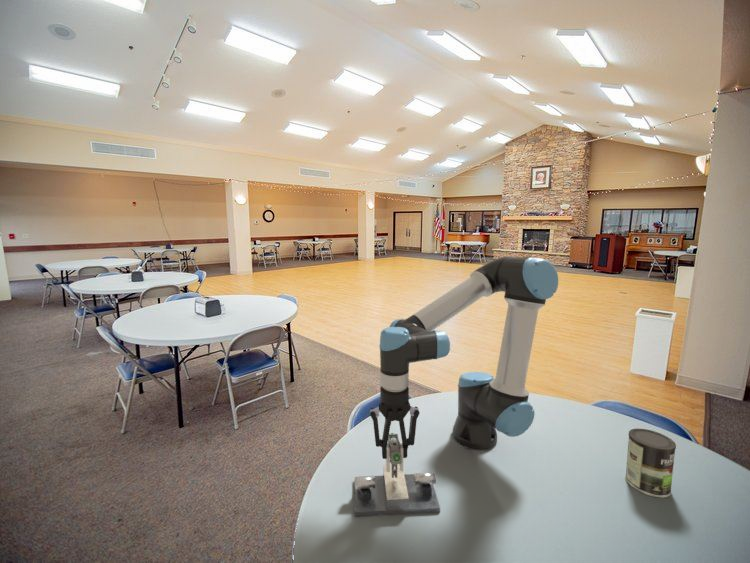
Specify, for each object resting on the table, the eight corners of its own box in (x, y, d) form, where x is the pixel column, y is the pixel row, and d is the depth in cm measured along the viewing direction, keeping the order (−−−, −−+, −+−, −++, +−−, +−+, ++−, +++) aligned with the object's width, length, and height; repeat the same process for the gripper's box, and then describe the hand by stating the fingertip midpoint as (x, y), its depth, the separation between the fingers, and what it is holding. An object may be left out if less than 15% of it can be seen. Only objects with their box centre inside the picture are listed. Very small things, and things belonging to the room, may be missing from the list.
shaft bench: (429, 477, 101) (429, 458, 100) (440, 512, 88) (440, 490, 87) (355, 480, 100) (354, 461, 99) (354, 516, 87) (354, 494, 86)
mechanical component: (391, 490, 88) (391, 455, 87) (387, 464, 98) (387, 432, 97) (402, 490, 88) (402, 454, 87) (397, 464, 99) (397, 431, 97)
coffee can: (678, 489, 95) (683, 442, 93) (659, 503, 90) (664, 453, 88) (636, 468, 104) (640, 424, 102) (617, 479, 99) (621, 433, 97)
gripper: (421, 379, 94) (421, 458, 97) (363, 381, 93) (364, 460, 96) (427, 391, 87) (426, 476, 90) (364, 393, 86) (365, 479, 89)
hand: (394, 468), depth 93 cm, fingers closed on mechanical component, 3 cm apart
